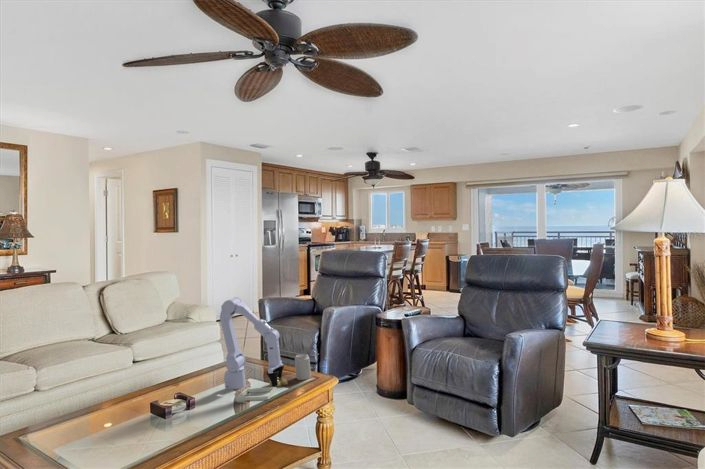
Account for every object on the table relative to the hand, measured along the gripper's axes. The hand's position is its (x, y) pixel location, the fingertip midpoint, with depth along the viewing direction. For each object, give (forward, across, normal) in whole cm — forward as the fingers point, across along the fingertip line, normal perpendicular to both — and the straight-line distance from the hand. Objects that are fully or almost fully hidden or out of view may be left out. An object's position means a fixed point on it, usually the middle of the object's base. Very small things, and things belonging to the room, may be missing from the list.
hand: (276, 383), depth 207 cm
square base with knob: (+1, 0, 0) cm, 1 cm away
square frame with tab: (+1, 0, -1) cm, 1 cm away
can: (+2, +9, -11) cm, 14 cm away
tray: (+1, -13, +5) cm, 14 cm away
